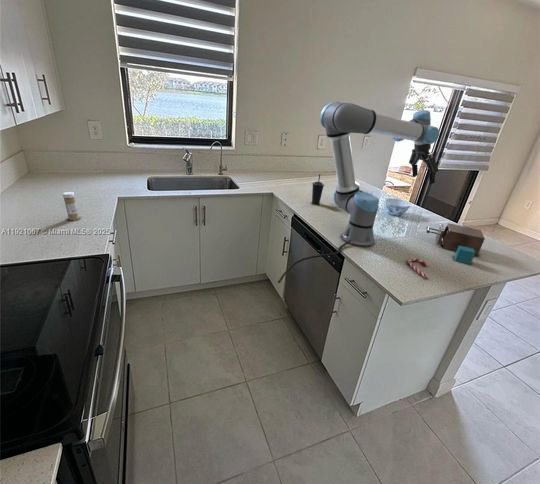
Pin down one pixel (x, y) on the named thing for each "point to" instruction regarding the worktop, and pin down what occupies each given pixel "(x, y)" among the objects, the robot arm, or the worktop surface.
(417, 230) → the worktop surface
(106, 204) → the worktop surface
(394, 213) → the chinaware
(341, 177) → the robot arm
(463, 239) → the cabinet
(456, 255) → the teal block
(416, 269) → the candy cane
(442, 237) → the drawer
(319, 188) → the drinking cup
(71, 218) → the sprinkles bottle
